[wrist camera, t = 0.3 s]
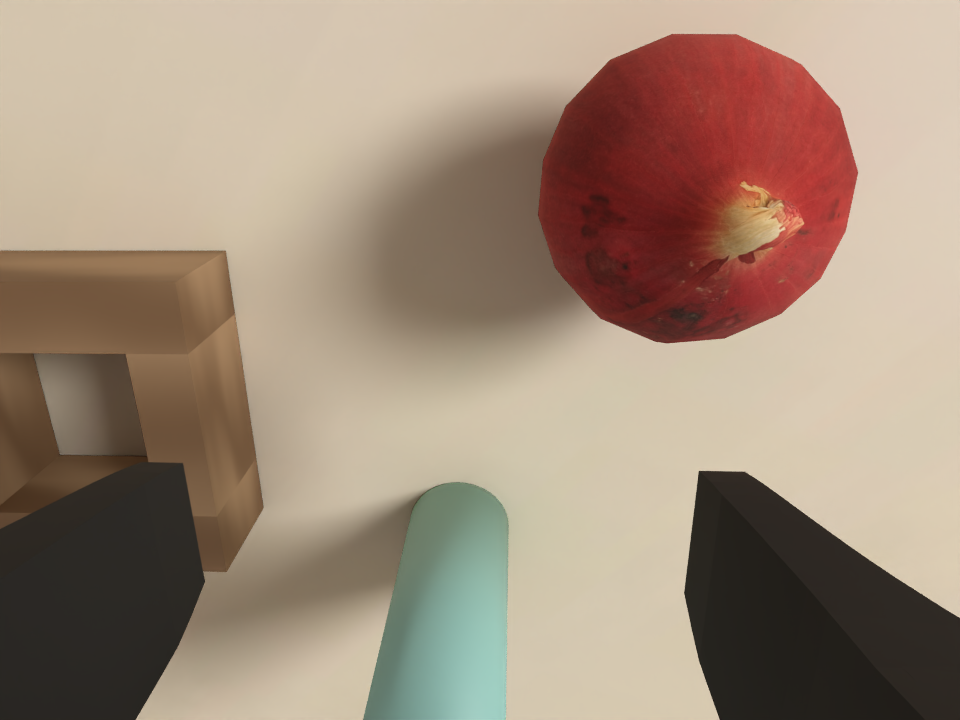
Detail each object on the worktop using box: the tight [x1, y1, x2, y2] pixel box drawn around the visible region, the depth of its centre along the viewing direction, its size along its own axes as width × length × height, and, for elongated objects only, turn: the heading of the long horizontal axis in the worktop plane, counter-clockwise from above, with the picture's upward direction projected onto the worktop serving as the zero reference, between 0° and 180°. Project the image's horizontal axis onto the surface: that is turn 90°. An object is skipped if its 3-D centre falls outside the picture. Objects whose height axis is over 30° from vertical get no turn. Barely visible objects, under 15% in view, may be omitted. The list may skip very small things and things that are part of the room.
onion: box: [538, 34, 858, 343], centre depth 14 cm, size 6×6×8 cm
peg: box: [363, 483, 508, 720], centre depth 18 cm, size 3×3×9 cm
